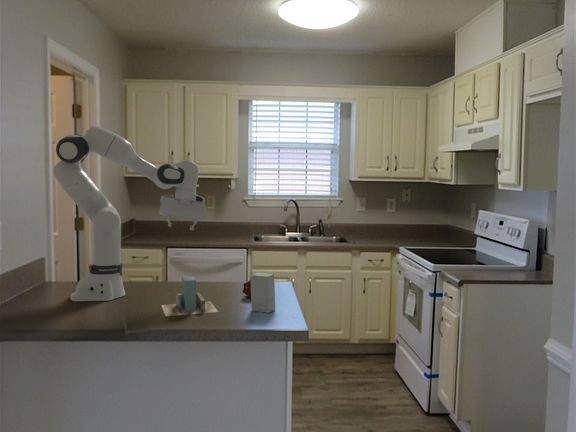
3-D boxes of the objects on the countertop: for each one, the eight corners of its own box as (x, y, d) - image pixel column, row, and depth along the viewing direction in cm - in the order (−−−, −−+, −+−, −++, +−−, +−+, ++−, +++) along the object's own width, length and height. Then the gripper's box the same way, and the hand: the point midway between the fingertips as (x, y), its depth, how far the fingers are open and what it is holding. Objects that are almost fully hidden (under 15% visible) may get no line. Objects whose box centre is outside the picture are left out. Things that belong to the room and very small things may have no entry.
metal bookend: (179, 312, 190) (179, 301, 190) (175, 306, 200) (175, 295, 199) (181, 312, 191) (181, 301, 190) (177, 305, 200) (177, 294, 200)
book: (184, 311, 193) (184, 280, 192) (182, 306, 199) (181, 277, 198) (196, 310, 194) (196, 280, 193) (193, 305, 201) (193, 276, 200)
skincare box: (275, 310, 200) (275, 273, 198) (268, 313, 194) (268, 276, 193) (257, 307, 203) (257, 271, 202) (249, 310, 198) (250, 274, 197)
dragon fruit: (247, 304, 213) (253, 301, 225) (263, 293, 213) (268, 290, 225) (236, 287, 215) (243, 285, 226) (253, 276, 214) (258, 274, 226)
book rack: (165, 318, 186) (165, 304, 185) (161, 307, 201) (161, 294, 200) (218, 314, 193) (218, 300, 192) (210, 303, 208) (210, 290, 207)
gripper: (161, 192, 212) (156, 224, 210) (208, 199, 218) (204, 230, 216) (160, 194, 218) (155, 225, 216) (206, 201, 224) (202, 232, 222)
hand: (180, 228), depth 216 cm, fingers open, 8 cm apart
